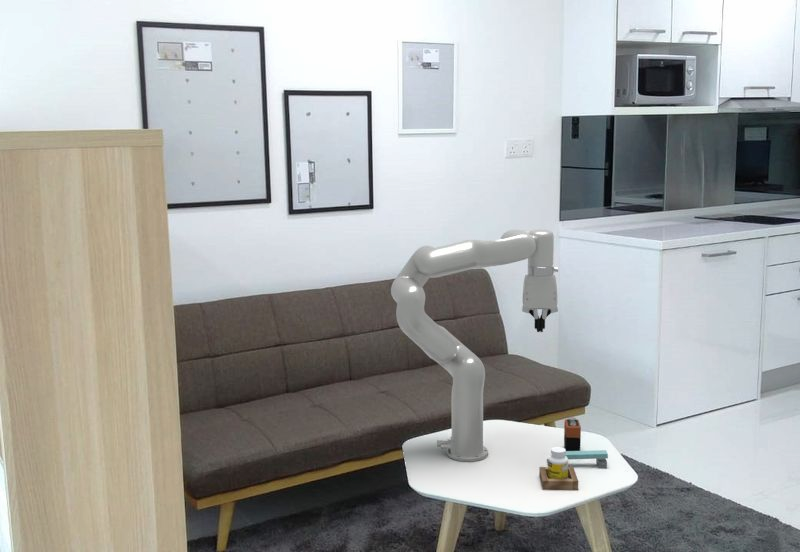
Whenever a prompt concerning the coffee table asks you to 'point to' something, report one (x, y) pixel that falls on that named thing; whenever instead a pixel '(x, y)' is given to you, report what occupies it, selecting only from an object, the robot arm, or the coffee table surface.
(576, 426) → the battery
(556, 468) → the supplement bottle
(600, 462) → the latch bracket
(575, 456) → the latch bar
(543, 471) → the socket
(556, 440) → the coffee table surface
